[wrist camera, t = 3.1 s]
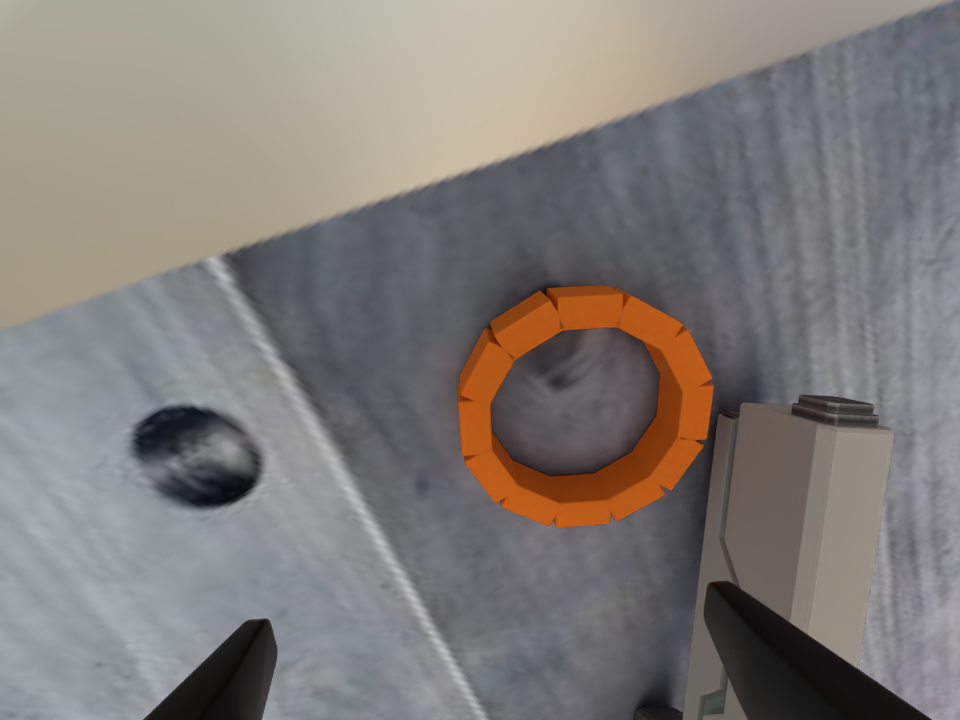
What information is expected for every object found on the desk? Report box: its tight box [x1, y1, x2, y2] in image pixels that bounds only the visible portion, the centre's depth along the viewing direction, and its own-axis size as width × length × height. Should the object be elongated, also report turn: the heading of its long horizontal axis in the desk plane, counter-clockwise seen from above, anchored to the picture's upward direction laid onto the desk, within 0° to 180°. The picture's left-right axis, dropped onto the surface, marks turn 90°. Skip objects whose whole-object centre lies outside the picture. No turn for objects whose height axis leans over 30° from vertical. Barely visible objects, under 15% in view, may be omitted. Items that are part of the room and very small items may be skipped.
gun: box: [635, 395, 894, 720], centre depth 20 cm, size 2×25×10 cm, turn 175°
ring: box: [458, 285, 714, 528], centre depth 18 cm, size 10×10×2 cm
